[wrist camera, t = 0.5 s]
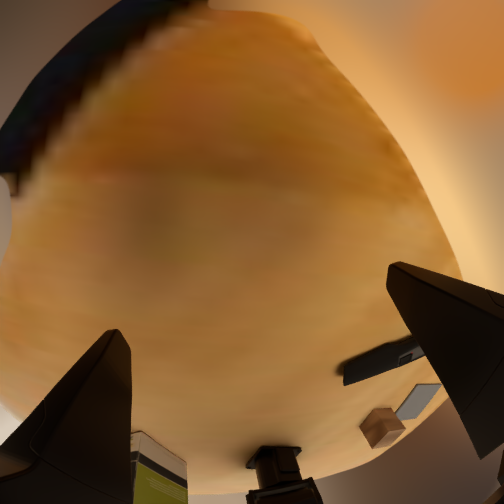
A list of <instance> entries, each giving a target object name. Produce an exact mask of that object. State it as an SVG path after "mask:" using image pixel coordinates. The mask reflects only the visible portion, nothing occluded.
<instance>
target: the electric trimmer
mask: <svg viewBox="0 0 504 504" xmlns="http://www.w3.org/2000/svg"><path fill="white" fill-rule="evenodd" d="M423 356H425V354H424V352H423V351H422V349H421V348H420V346H419V344H418V343H417V341H416V340H415V338H414V337H413V338H410V339H408V340H406V341H404V342H402V343H399V344H397V345H395V344H386V345H384V346H382V347H380V348H378V349H376V350H374V351H372V352H370V353H368V354H366V355H364V356H362V357H360V358H358V359H356V360H354V361H351V362H349V363H347V364H346V365H345V366H344V376H343V385H344V386H347V385H350V384H353V383H356V382H359V381H362V380H364V379H367V378H370V377H373V376H376V375H378V374H381V373H383V372H386V371H389V370H392V369H394V368H398V367H400V366H403V365H405V364H408V363H410V362H412V361H414V360H417V359H419V358H421V357H423Z"/></svg>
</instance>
